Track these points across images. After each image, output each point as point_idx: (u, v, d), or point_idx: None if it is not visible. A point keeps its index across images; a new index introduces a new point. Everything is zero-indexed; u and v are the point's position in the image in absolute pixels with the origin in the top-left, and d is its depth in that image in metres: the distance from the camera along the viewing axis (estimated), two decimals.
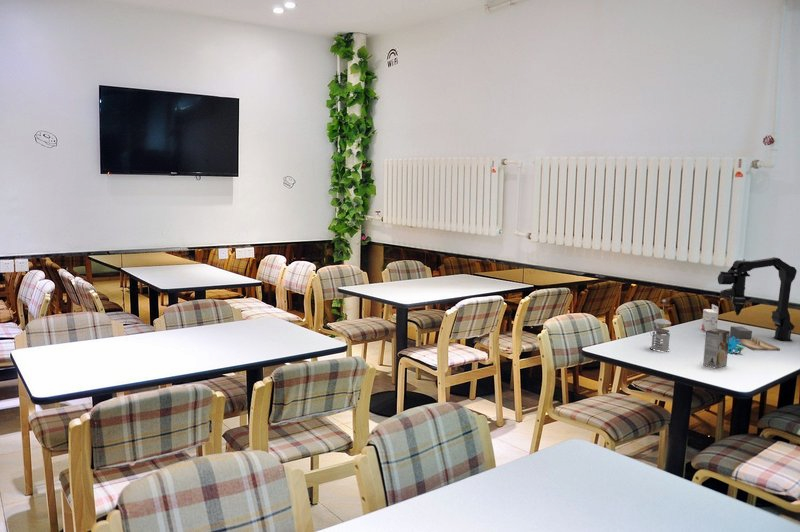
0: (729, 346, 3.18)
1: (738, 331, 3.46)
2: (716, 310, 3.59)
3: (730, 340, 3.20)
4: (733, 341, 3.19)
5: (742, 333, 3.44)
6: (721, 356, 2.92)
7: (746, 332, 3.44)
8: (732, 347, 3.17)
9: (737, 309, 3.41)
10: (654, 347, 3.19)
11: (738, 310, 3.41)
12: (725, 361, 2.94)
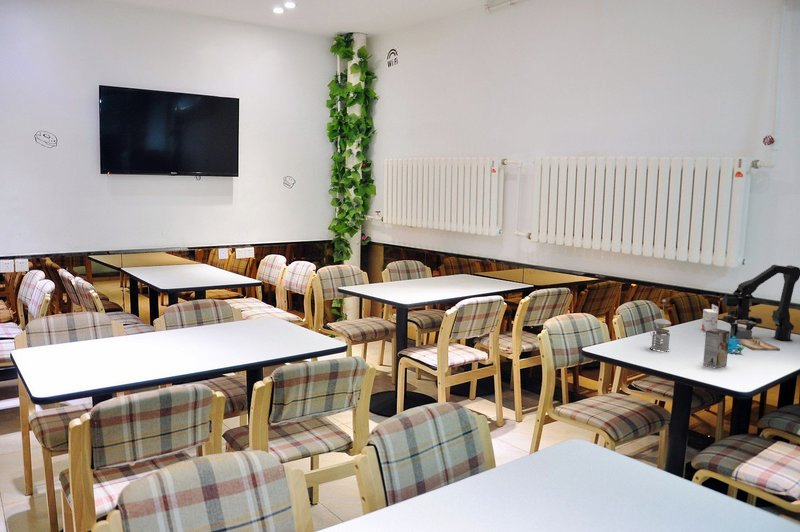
0: (729, 346, 3.18)
1: (738, 331, 3.46)
2: (716, 310, 3.59)
3: (730, 340, 3.20)
4: (733, 341, 3.19)
5: (742, 333, 3.44)
6: (721, 356, 2.92)
7: (746, 332, 3.44)
8: (732, 347, 3.17)
9: (733, 329, 3.49)
10: (654, 347, 3.19)
11: (733, 330, 3.49)
12: (725, 361, 2.94)
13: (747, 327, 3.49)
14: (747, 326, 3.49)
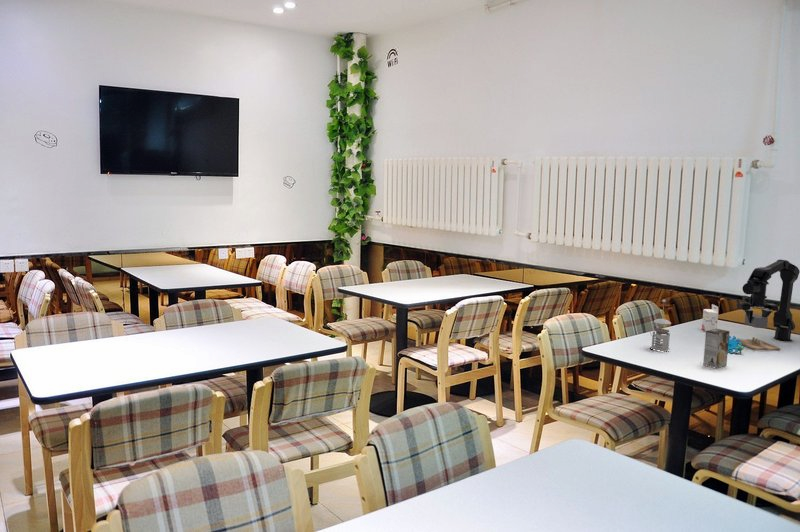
0: (729, 346, 3.18)
1: (753, 318, 3.31)
2: (716, 310, 3.59)
3: (731, 340, 3.20)
4: (733, 341, 3.19)
5: (757, 320, 3.29)
6: (721, 356, 2.92)
7: (761, 319, 3.29)
8: (732, 347, 3.17)
9: (748, 316, 3.34)
10: (654, 347, 3.19)
11: (748, 317, 3.33)
12: (725, 361, 2.94)
13: (763, 314, 3.34)
14: (763, 313, 3.34)
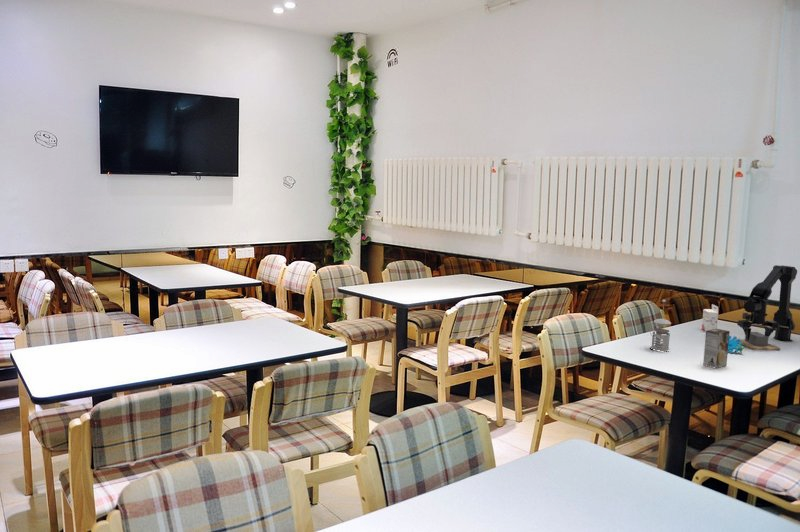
0: (729, 346, 3.18)
1: (754, 337, 3.30)
2: (716, 310, 3.59)
3: (731, 340, 3.20)
4: (734, 341, 3.19)
5: (758, 339, 3.28)
6: (721, 356, 2.92)
7: (762, 338, 3.28)
8: (732, 347, 3.17)
9: (745, 334, 3.33)
10: (654, 347, 3.19)
11: (746, 335, 3.33)
12: (725, 361, 2.94)
13: (766, 332, 3.33)
14: (766, 331, 3.33)
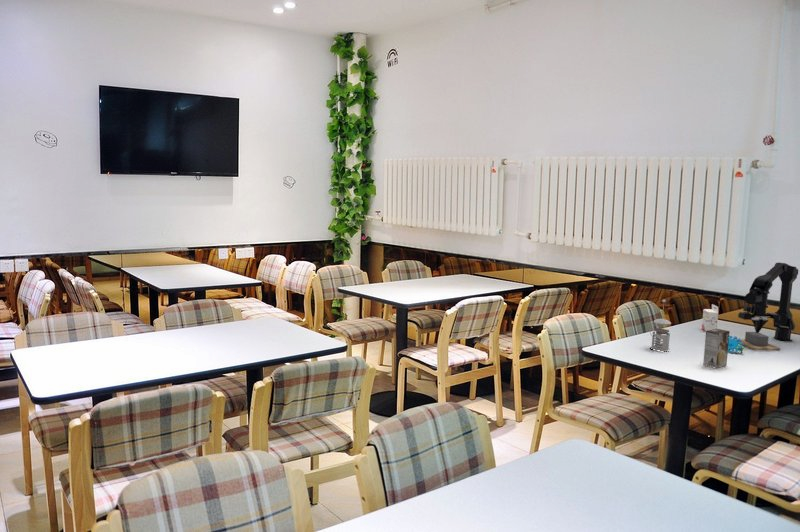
0: (730, 346, 3.19)
1: (754, 337, 3.30)
2: (716, 310, 3.59)
3: (732, 340, 3.20)
4: (734, 341, 3.19)
5: (758, 339, 3.28)
6: (721, 356, 2.92)
7: (762, 338, 3.28)
8: (733, 347, 3.18)
9: (755, 326, 3.33)
10: (654, 347, 3.19)
11: (755, 327, 3.32)
12: (725, 361, 2.94)
13: None
14: None
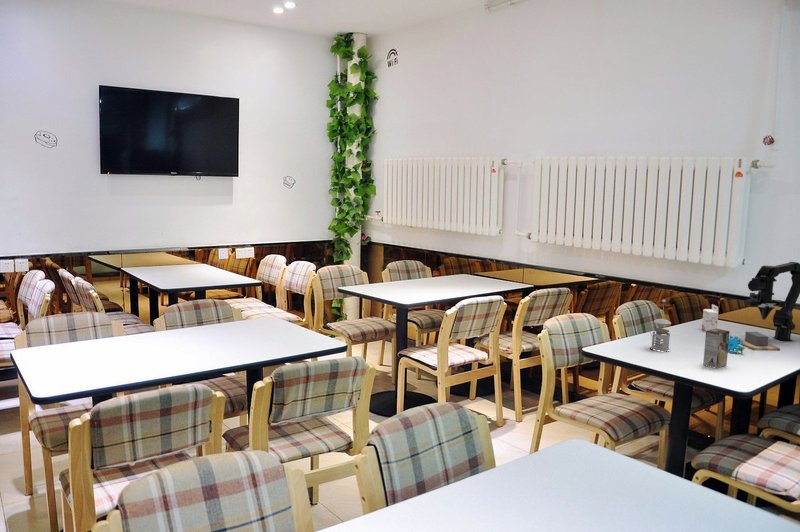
0: (730, 346, 3.19)
1: (754, 337, 3.30)
2: (716, 310, 3.59)
3: (732, 340, 3.20)
4: (735, 341, 3.19)
5: (758, 339, 3.28)
6: (721, 356, 2.92)
7: (762, 338, 3.28)
8: (733, 347, 3.18)
9: (761, 313, 3.41)
10: (654, 347, 3.19)
11: (762, 314, 3.41)
12: (725, 361, 2.94)
13: None
14: None
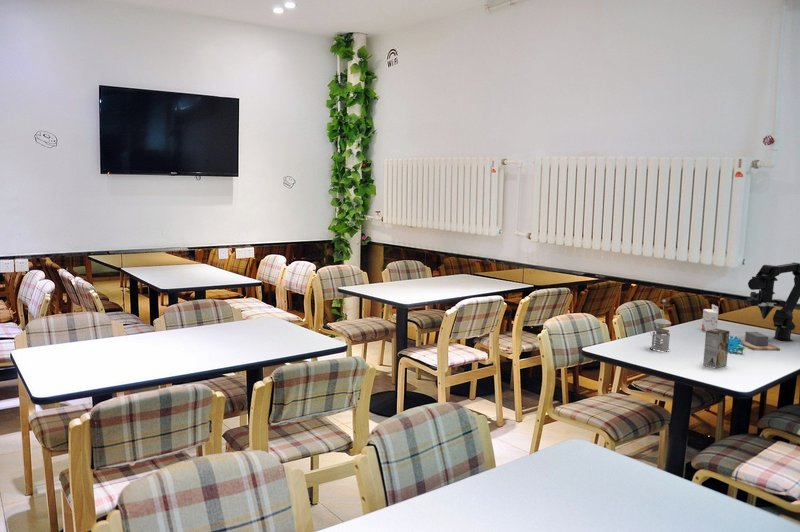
0: (730, 346, 3.19)
1: (754, 337, 3.30)
2: (716, 310, 3.59)
3: (732, 340, 3.20)
4: (735, 341, 3.19)
5: (758, 339, 3.28)
6: (721, 356, 2.92)
7: (762, 338, 3.28)
8: (733, 347, 3.18)
9: (761, 312, 3.42)
10: (654, 347, 3.19)
11: (762, 313, 3.42)
12: (725, 361, 2.94)
13: None
14: None
